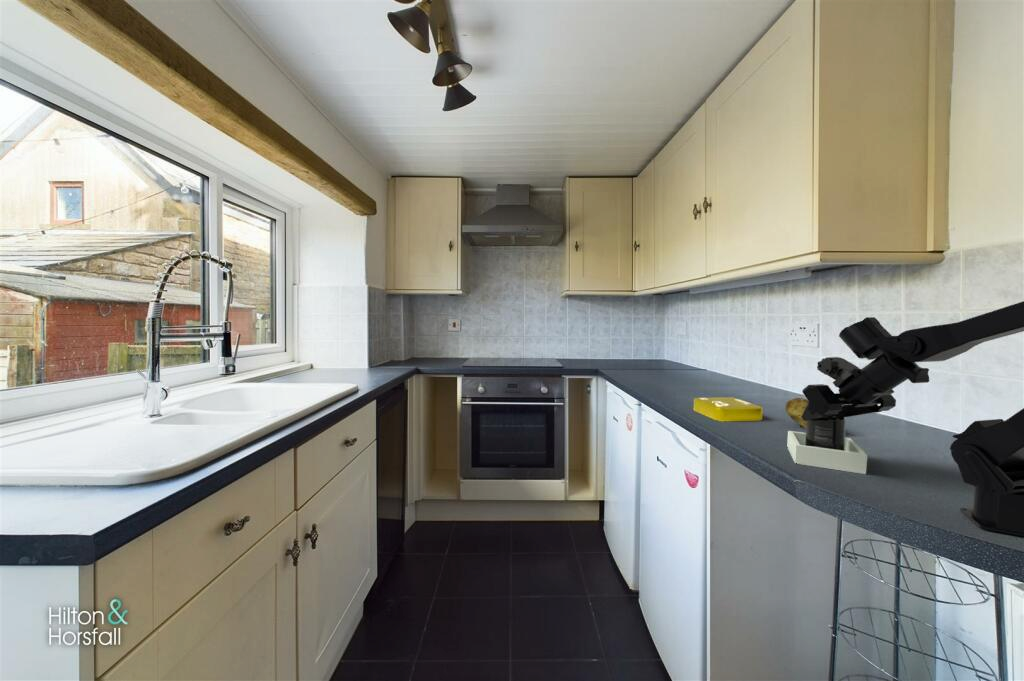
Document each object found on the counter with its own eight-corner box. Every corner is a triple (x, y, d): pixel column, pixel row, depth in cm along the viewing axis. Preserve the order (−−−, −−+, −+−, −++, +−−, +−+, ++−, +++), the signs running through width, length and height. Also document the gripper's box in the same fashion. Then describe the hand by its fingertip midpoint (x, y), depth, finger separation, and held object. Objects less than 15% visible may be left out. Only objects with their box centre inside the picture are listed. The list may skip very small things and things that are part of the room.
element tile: (765, 421, 119) (766, 406, 119) (718, 423, 118) (719, 407, 117) (732, 409, 134) (733, 395, 134) (690, 410, 133) (691, 396, 132)
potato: (818, 436, 104) (820, 406, 103) (778, 422, 117) (780, 396, 116) (845, 435, 105) (847, 405, 104) (803, 421, 118) (805, 395, 117)
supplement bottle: (852, 459, 85) (855, 404, 84) (827, 461, 83) (830, 405, 83) (820, 449, 92) (823, 398, 91) (797, 451, 90) (799, 399, 89)
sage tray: (865, 474, 80) (867, 455, 80) (795, 463, 86) (796, 445, 85) (849, 455, 91) (850, 438, 90) (787, 446, 96) (788, 430, 96)
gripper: (883, 345, 84) (828, 386, 96) (814, 346, 80) (764, 389, 92) (926, 388, 77) (861, 427, 89) (852, 392, 73) (794, 433, 85)
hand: (819, 417), depth 89 cm, fingers open, 9 cm apart
